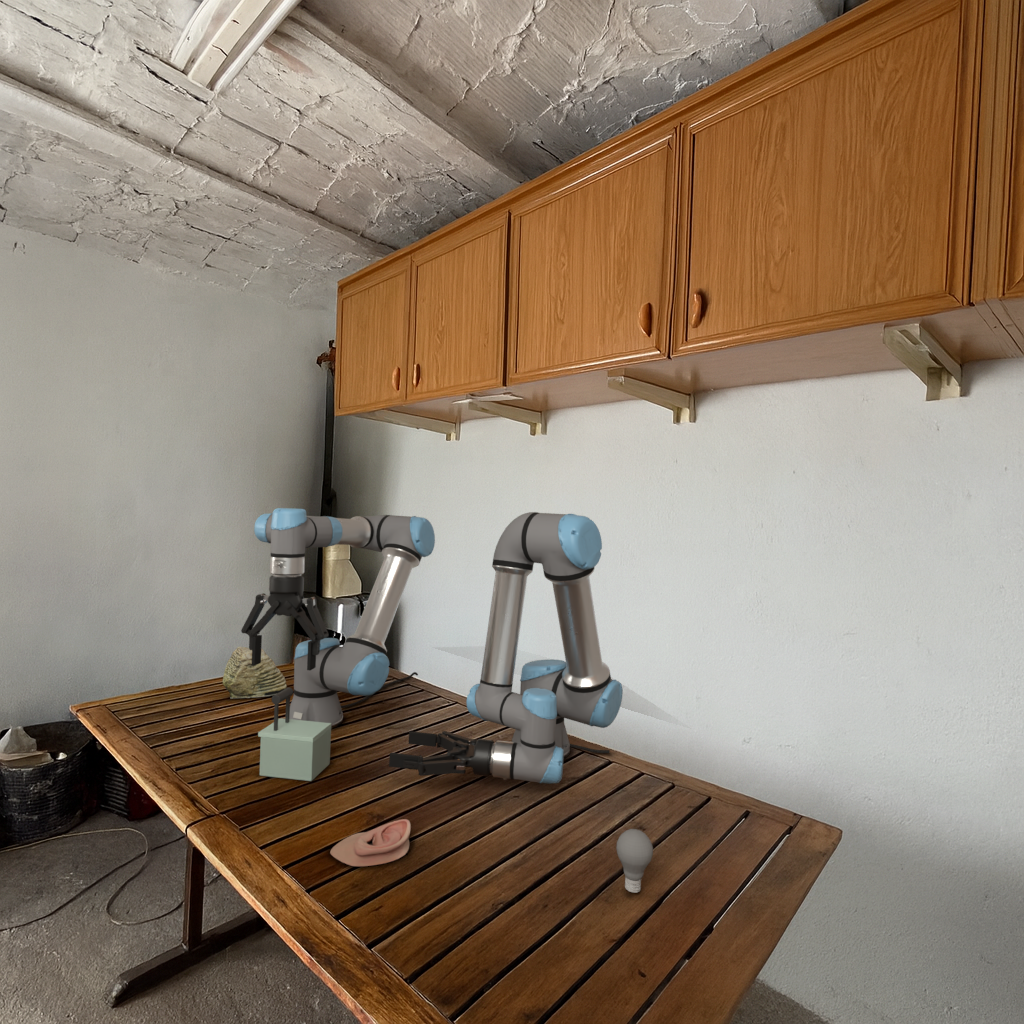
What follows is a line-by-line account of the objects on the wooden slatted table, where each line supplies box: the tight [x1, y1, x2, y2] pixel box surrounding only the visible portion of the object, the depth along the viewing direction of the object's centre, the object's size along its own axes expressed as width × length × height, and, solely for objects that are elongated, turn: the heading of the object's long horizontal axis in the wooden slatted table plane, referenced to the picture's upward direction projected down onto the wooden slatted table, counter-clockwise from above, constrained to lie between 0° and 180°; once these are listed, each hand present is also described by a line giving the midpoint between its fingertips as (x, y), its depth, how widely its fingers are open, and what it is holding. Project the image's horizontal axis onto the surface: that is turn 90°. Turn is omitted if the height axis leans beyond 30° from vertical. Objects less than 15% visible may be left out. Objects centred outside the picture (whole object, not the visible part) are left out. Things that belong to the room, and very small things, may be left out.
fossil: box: [222, 646, 288, 699], centre depth 198 cm, size 9×18×15 cm, turn 132°
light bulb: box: [615, 828, 654, 894], centre depth 106 cm, size 6×6×10 cm
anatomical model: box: [329, 818, 412, 867], centre depth 114 cm, size 13×4×12 cm
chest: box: [259, 728, 332, 782], centre depth 146 cm, size 12×10×9 cm
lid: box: [257, 687, 331, 742], centre depth 146 cm, size 13×10×9 cm
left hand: (283, 666), depth 146 cm, fingers open, 13 cm apart
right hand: (399, 748), depth 142 cm, fingers open, 13 cm apart
